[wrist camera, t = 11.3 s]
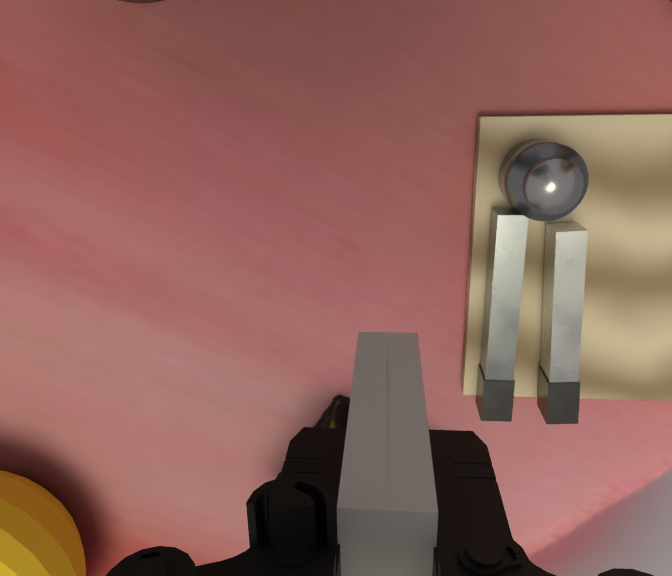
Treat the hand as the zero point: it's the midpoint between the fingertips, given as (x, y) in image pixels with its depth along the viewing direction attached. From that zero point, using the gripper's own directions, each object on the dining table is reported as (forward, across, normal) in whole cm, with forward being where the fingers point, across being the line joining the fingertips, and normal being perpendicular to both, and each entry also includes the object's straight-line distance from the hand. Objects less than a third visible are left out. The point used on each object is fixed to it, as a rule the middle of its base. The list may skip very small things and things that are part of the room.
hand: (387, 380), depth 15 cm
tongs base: (+23, +9, -5) cm, 25 cm away
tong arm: (+23, +10, -5) cm, 26 cm away
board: (+24, +14, -4) cm, 28 cm away
